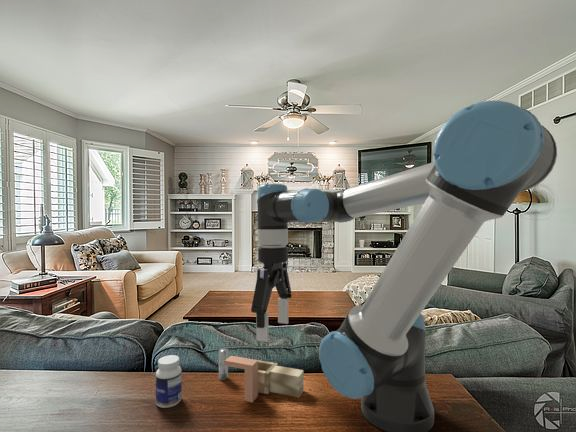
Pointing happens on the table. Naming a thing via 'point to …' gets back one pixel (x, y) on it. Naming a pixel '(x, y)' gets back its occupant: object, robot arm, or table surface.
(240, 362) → the keeper
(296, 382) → the link
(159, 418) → the table surface
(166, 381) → the pill bottle
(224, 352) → the cylinder
